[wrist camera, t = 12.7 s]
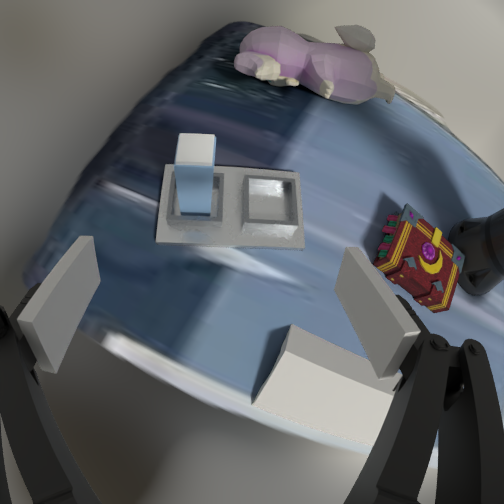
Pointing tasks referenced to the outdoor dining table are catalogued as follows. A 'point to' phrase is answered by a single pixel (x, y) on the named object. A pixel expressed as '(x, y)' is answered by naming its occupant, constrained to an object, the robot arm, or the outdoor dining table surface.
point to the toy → (316, 63)
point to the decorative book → (419, 259)
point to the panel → (237, 211)
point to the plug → (195, 173)
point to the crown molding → (326, 389)
